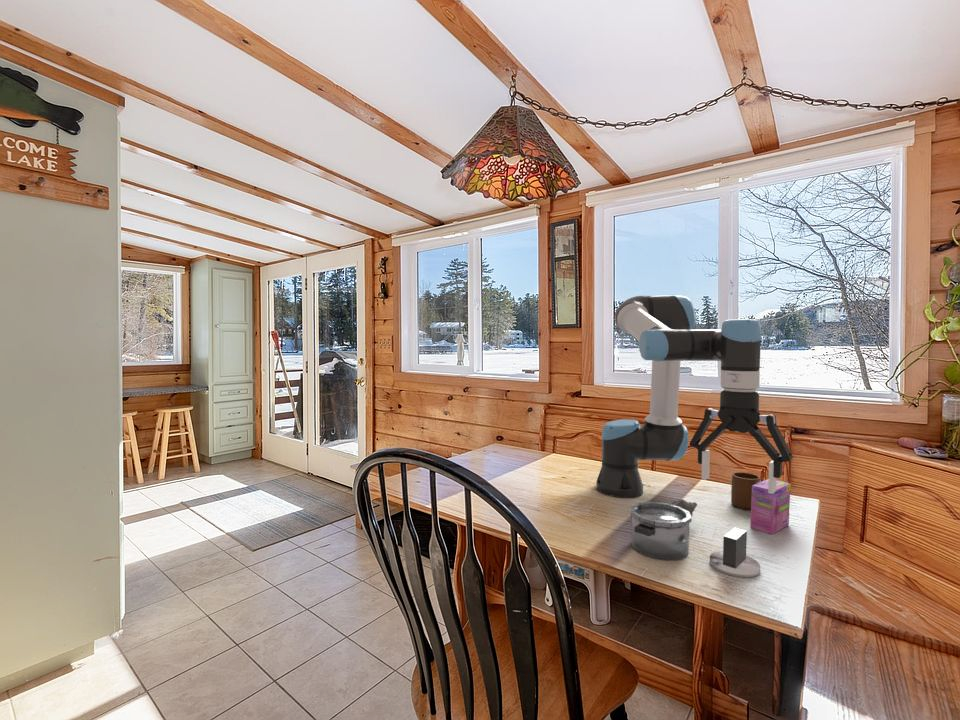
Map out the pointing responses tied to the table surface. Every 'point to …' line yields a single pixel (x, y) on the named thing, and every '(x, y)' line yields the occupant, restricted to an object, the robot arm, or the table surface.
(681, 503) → the fossil
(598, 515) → the table surface
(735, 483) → the mug
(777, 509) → the box
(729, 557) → the lid
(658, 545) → the pot
